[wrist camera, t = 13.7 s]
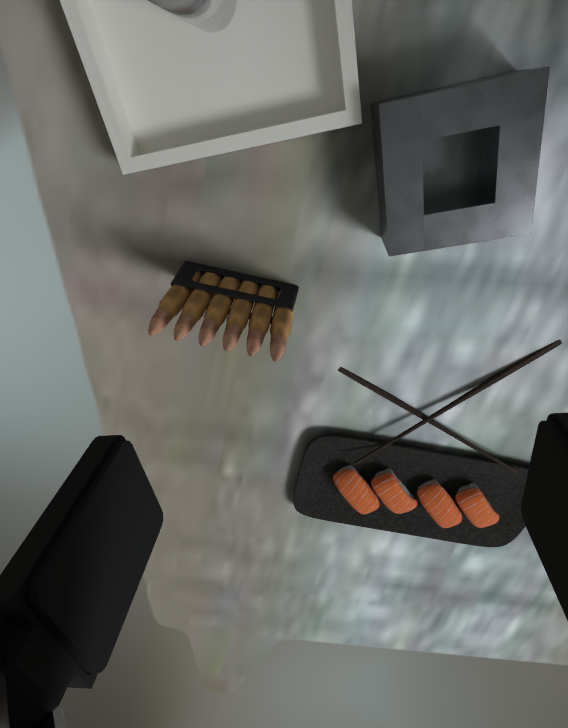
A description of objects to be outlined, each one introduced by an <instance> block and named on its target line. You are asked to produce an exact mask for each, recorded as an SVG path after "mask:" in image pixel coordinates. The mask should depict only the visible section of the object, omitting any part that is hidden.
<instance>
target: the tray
mask: <svg viewBox="0 0 568 728" xmlns="http://www.w3.org/2000/svg"><path fill="white" fill-rule="evenodd" d="M60 2H61V5H62V8H63V10H64V13H65V16H66V19H67V21H68V24H69V27H70V30H71V32H72V35H73V38H74V41H75V43H76V46H77V49H78V52H79V54H80V57H81V60H82V63H83V65H84V68H85V71H86V74H87V76H88V79H89V82H90V85H91V87H92V90H93V93H94V96H95V99H96V101H97V104H98V107H99V110H100V112H101V115H102V118H103V121H104V123H105V126H106V129H107V132H108V134H109V137H110V140H111V143H112V145H113V148H114V151H115V154H116V156H117V159H118V162H119V165H120V167H121V170H122V173H123V175H124V174H129V173H134V172H138V171H143V170H148V169H152V168H157V167H162V166H166V165H171V164H176V163H180V162H185V161H190V160H194V159H199V158H204V157H208V156H213V155H218V154H222V153H227V152H232V151H236V150H241V149H246V148H250V147H255V146H260V145H264V144H269V143H274V142H278V141H283V140H288V139H292V138H297V137H302V136H306V135H311V134H316V133H320V132H325V131H330V130H334V129H339V128H344V127H348V126H353V125H358V124H362V116H361V104H360V93H359V81H358V69H357V58H356V46H355V34H354V22H353V11H352V0H237V6H236V11H235V14H234V16H233V19H232V20H231V22H230V23H229V24H228V26H227V27H225V28H224V29H222V30H221V31H218V32H206V31H203V30H201V29H200V28H198V27H196V26H194V25H192V24H190V23H188V22H187V21H185V20H183V19H181V18H179V17H177V16H175V15H174V14H172V13H170V12H168V11H166V10H164V9H162V8H161V7H159V6H157V5H155V4H153V3H151V2H150V1H148V0H60Z"/></svg>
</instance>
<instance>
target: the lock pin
mask: <svg viewBox="0 0 568 728" xmlns="http://www.w3.org/2000/svg"><path fill="white" fill-rule="evenodd" d="M148 1H150V2H151V3H153V4H155V5H157V6H159V7H161V8H162V9H164V10H166V11H168V12H170V13H172V14H174V15H175V16H177V17H179V18H181V19H183V20H185V21H187V22H188V23H190V24H192V25H194V26H196V27H198V28H200V29H201V30H203V31H206V32H218V31H221V30H222V29H224V28H225V27H227V26H228V24H229V23H230V22H231V20H232V19H233V16H234V14H235V11H236V6H237V0H148Z"/></svg>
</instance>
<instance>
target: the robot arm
mask: <svg viewBox="0 0 568 728" xmlns="http://www.w3.org/2000/svg"><path fill="white" fill-rule="evenodd" d="M521 513H522V518H523V521H524V523H525V525H526V528H527V530H528V532H529V535H530V537H531V539H532V541H533V544H534V546H535V548H536V550H537V553H538V555H539V557H540V559H541V562H542V564H543V566H544V568H545V571H546V573H547V575H548V577H549V580H550V582H551V584H552V586H553V589H554V591H555V593H556V595H557V598H558V600H559V602H560V605H561V607H562V609H563V611H564V614H565V616H566V618H567V620H568V413H553V414H550V415H549V416H548V418H547V420H546V421H541V422H540V423H539V425H538V429H537V434H536V438H535V443H534V447H533V452H532V456H531V461H530V466H529V470H528V475H527V479H526V484H525V489H524V493H523V498H522V502H521ZM162 523H163V512H162V509H161V507H160V505H159V502H158V500H157V498H156V496H155V494H154V491H153V489H152V487H151V485H150V483H149V480H148V478H147V476H146V474H145V472H144V469H143V467H142V465H141V463H140V461H139V458H138V456H137V454H136V452H135V450H134V447H133V445H132V444H131V442H130V441H126V439H125V438H124V437H123V436H122V435H110V436H98V437H96V438H95V439H94V440H93V441H92V443H91V444H90V445H89V447H88V448H87V450H86V451H85V453H84V454H83V456H82V457H81V459H80V460H79V461H78V463H77V464H76V466H75V467H74V469H73V470H72V472H71V473H70V474H69V476H68V477H67V479H66V480H65V482H64V483H63V485H62V486H61V488H60V489H59V490H58V492H57V493H56V495H55V496H54V498H53V499H52V501H51V502H50V504H49V505H48V506H47V508H46V509H45V511H44V512H43V514H42V515H41V517H40V518H39V520H38V521H37V523H36V524H35V526H34V527H33V528H32V530H31V531H30V533H29V534H28V536H27V537H26V538H25V540H24V542H23V543H22V544H21V546H20V547H19V549H18V550H17V552H16V553H15V555H14V556H13V557H12V559H11V560H10V562H9V563H8V565H7V566H6V567H5V569H4V570H3V572H2V573H1V575H0V728H66V727H65V721H64V716H63V710H62V704H61V700H62V698H63V695H64V693H65V691H66V689H67V686H68V687H72V688H89V689H91V688H92V686H93V684H94V681H95V679H96V677H97V674H98V673H100V672H102V671H103V670H104V669H105V667H106V665H107V663H108V661H109V658H110V656H111V653H112V651H113V648H114V646H115V643H116V641H117V638H118V636H119V633H120V631H121V628H122V625H123V623H124V621H125V618H126V615H127V613H128V610H129V608H130V605H131V602H132V600H133V598H134V595H135V592H136V590H137V588H138V585H139V582H140V580H141V577H142V575H143V572H144V570H145V567H146V565H147V562H148V560H149V557H150V555H151V552H152V549H153V547H154V544H155V542H156V539H157V537H158V534H159V532H160V529H161V527H162Z"/></svg>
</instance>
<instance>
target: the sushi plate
mask: <svg viewBox="0 0 568 728" xmlns="http://www.w3.org/2000/svg"><path fill="white" fill-rule="evenodd" d="M561 343H562V342H561V340H558V341H556V342H554V343H552V344H550V345H548V346H546V347H544V348H542V349H541V350H539V351H537V352H535V353H533V354H531V355H529V356H528V357H526V358H524V359H522V360H520V361H518V362H516V363H515V364H513V365H511V366H509V367H507V368H505V369H504V370H502V371H501V372H499V373H497V374H496V375H494V376H492V377H491V378H489V379H488V380H486V381H485V382H483V383H481V384H480V385H478V386H477V387H475V388H473V389H472V390H470V391H469V392H467V393H465V394H464V395H462V396H461V397H459V398H458V399H456V400H454V401H453V402H451V403H450V404H448V405H446V406H445V407H443V408H442V409H440V410H438V411H437V412H435V413H433V414H432V415H430V416H429V417H427V416H425V415H424V414H422V413H420V412H419V411H417V410H416V409H414V408H412V407H411V406H409V405H407V404H406V403H404V402H403V401H401V400H399V399H398V398H396V397H395V396H393V395H391V394H390V393H388V392H386V391H384V390H382V389H381V388H379V387H377V386H375V385H373V384H372V383H370V382H368V381H366V380H364V379H363V378H361V377H359V376H357V375H355V374H354V373H352V372H350V371H348V370H346V369H344V368H342V367H340V368H339V369H338V371H339V372H341V373H343V374H345V375H346V376H348V377H350V378H351V379H353V380H355V381H357V382H358V383H360V384H362V385H363V386H365V387H367V388H369V389H370V390H372V391H374V392H376V393H377V394H379V395H381V396H383V397H384V398H386V399H388V400H390V401H391V402H393V403H395V404H397V405H398V406H400V407H402V408H404V409H405V410H407V411H409V412H411V413H412V414H414V415H416V416H418V417H419V418H421V419H423V420H422V421H420V422H419V423H417V424H416V425H414V426H412V427H411V428H409V429H407V430H406V431H404V432H403V433H401V434H399V435H398V436H396V437H394V438H393V439H391V440H389V441H388V442H382V441H376V440H371V439H364V438H358V437H352V436H345V435H335V434H327V435H320V436H317V437H315V438H314V439H313V440H312V441H311V442H310V443H309V445H308V447H307V448H306V451H305V453H304V456H303V459H302V463H301V467H300V470H299V474H298V478H297V482H296V486H295V491H294V499H293V501H294V507H295V509H296V510H297V511H298V512H299V513H301V514H303V515H306V516H309V517H312V518H317V519H321V520H327V521H332V522H338V523H344V524H349V525H355V526H361V527H367V528H373V529H379V530H385V531H391V532H397V533H403V534H409V535H414V536H420V537H426V538H432V539H438V540H444V541H450V542H456V543H462V544H468V545H475V546H483V547H500V546H504V545H506V544H508V543H510V542H511V541H512V540H514V539H515V538H516V537H517V536H518V535H519V534H520V532H521V531H522V530H523V529H524V527H525V526H526V525H525V523H524V521H523V518H522V513H521V502H522V498H523V493H524V489H525V484H526V479H527V475H528V470H529V468H528V467H524V466H519V465H514V464H508V463H503V462H502V461H500V460H498V459H497V458H495V457H493V456H492V455H490V454H488V453H487V452H485V451H483V450H482V449H480V448H478V447H477V446H475V445H473V444H472V443H470V442H468V441H467V440H465V439H463V438H462V437H460V436H458V435H457V434H455V433H453V432H452V431H450V430H448V429H447V428H445V427H443V426H442V425H440V424H438V423H437V422H435V421H434V420H432V419H434V418H435V417H437V416H439V415H441V414H442V413H444V412H446V411H447V410H449V409H451V408H453V407H454V406H456V405H458V404H459V403H461V402H463V401H465V400H466V399H468V398H470V397H472V396H473V395H475V394H477V393H479V392H480V391H482V390H484V389H486V388H487V387H489V386H491V385H492V384H494V383H496V382H498V381H499V380H501V379H503V378H505V377H506V376H508V375H510V374H511V373H513V372H515V371H516V370H518V369H520V368H522V367H523V366H525V365H527V364H528V363H530V362H532V361H534V360H535V359H537V358H539V357H540V356H542V355H544V354H545V353H547V352H549V351H550V350H552V349H554V348H556V347H557V346H559V345H560V344H561ZM427 422H428V423H430V424H432V425H433V426H435V427H437V428H439V429H440V430H442V431H444V432H446V433H447V434H449V435H451V436H452V437H454V438H456V439H458V440H459V441H461V442H463V443H464V444H466V445H468V446H470V447H471V448H473V449H475V450H476V451H478V452H480V453H482V454H483V455H485V456H487V457H488V458H490V459H492V460H494V461H491V460H486V459H480V458H474V457H468V456H463V455H457V454H451V453H445V452H440V451H434V450H428V449H422V448H417V447H411V446H405V445H399V444H394V443H393V442H395V441H397V440H398V439H400V438H402V437H403V436H405V435H407V434H408V433H410V432H412V431H413V430H415V429H417V428H418V427H420V426H422V425H424V424H425V423H427Z"/></svg>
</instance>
